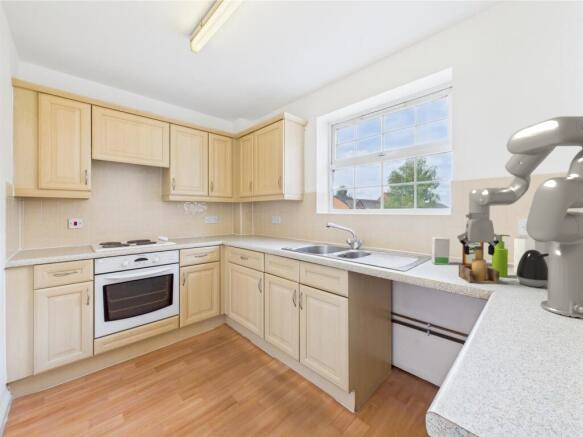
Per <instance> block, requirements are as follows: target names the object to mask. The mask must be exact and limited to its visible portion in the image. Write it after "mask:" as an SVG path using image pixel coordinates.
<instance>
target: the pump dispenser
mask: <svg viewBox="0 0 583 437" xmlns="http://www.w3.org/2000/svg"><path fill="white" fill-rule="evenodd" d="M546 256H549V254H548V253H546V254H541V253H540V252H539V251H537V250H528V251H526V252H525V253H524V254H523V255H522V257H521V259H520V261H519V264H518V267H517V273H515V274H516V276H517V279H518V281H519V283H521V284H523V285H525V286H527V287H532V288H543V287H544V286H546V285H548V266H547V263H546V261H545V259H544V257H546Z"/></svg>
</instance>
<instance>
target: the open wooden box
mask: <svg viewBox="0 0 583 437" xmlns="http://www.w3.org/2000/svg"><path fill="white" fill-rule="evenodd" d="M458 277H459V278H461V279H462V280H464V281H466V282H467V283H469V284H483V285H485V284H486V285H487V284H488V285H500V277H499V271H497V270H495V269H492V267H489V266H487V265H486V281H477V280H473V271H472V265H463V264H459V265H458Z"/></svg>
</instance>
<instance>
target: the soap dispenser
mask: <svg viewBox="0 0 583 437" xmlns="http://www.w3.org/2000/svg"><path fill="white" fill-rule="evenodd" d="M498 235H499V236H501V237H502V238H501V240H500V241H499V243H498V244H497V245H496V246H495V252H494V255H491V268H492V269H495V270H497V271H499V278H508V272H509V271H508V264H509V263H508V262H509V257H508V255H509V249H508V248H505V241H503V237H511V235H508V234H502V233H501V234H498Z"/></svg>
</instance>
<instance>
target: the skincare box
mask: <svg viewBox="0 0 583 437" xmlns="http://www.w3.org/2000/svg"><path fill="white" fill-rule="evenodd" d="M450 242H451V240H450V238H448V237H443V236H442V237H440V236H438V237H437V236H432V237H431V263H432V264H434V265H441V266H442V265H443V266H445V265H446V266H449V265H450Z"/></svg>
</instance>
